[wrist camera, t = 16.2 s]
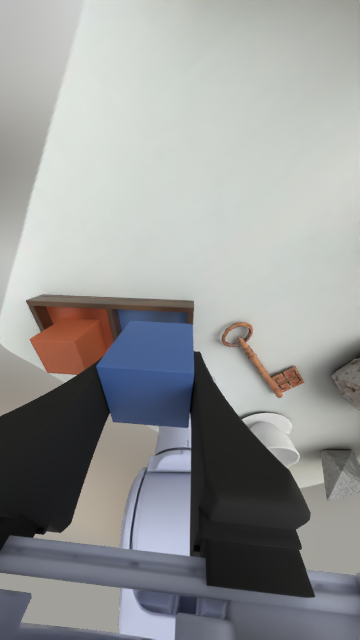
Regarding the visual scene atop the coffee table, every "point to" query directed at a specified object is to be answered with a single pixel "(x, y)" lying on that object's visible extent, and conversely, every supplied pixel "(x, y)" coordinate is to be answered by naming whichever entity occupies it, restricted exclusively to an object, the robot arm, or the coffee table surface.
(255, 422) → the teacup
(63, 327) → the terracotta block
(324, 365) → the coffee table surface
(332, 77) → the coffee table surface
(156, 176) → the coffee table surface
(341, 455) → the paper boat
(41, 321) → the sorter
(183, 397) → the blue block
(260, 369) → the key
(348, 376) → the stone
